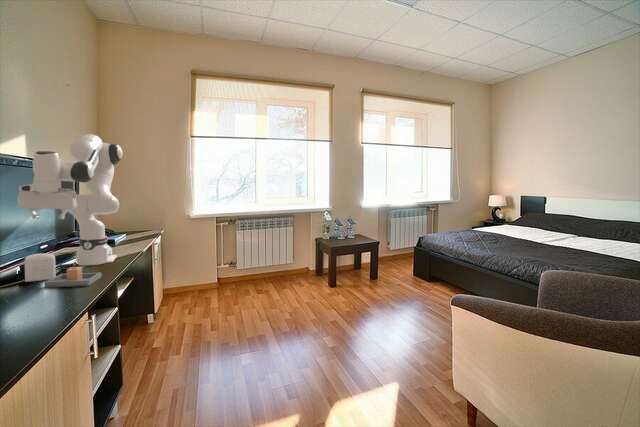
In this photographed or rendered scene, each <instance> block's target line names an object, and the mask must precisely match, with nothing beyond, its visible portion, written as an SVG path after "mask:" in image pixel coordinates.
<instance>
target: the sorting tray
mask: <svg viewBox="0 0 640 427" xmlns="http://www.w3.org/2000/svg"><path fill="white" fill-rule="evenodd" d="M101 278H102V272H82V280H70V281H67V273H60V274H59V275H56V277H54V278H52V279H50V280H45V281H44V288H45V289H47V288H48V289H49V288H51V289H52V288H69V287H70V288H72V287H73V288H74V287H89V286H91V285H92V284H95V283H96V282H97V281H99V280H100V279H101Z"/></svg>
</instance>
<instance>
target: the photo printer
mask: <svg viewBox="0 0 640 427" xmlns="http://www.w3.org/2000/svg"><path fill="white" fill-rule="evenodd" d="M56 276H57V275H56V257H55V254H52V253H33V254H30V255H27V256H25V259H24V282H26V283H27V282H28V283H29V282H36V281H37V282H38V281H48V280H50V279H52V278H54V277H56Z"/></svg>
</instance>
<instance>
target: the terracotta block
mask: <svg viewBox="0 0 640 427" xmlns="http://www.w3.org/2000/svg"><path fill="white" fill-rule="evenodd" d="M82 273H83V267H82V266H73V267H69V268H67V269H66V274H67V281H70V280H82Z"/></svg>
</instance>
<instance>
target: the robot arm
mask: <svg viewBox="0 0 640 427" xmlns="http://www.w3.org/2000/svg"><path fill="white" fill-rule="evenodd" d="M69 152H70V155H71V156H72V157H74V159H76V161H75V160H73V161H72V160H63V159H61V158H60V156H59V154H58V152H56V151H50V150H39V151H36V152H34V154H33V159H32V171H33V175H34V176H33V182H32V183H29V184H24V185H20V186H19V187H18V191H19V192H18V194H17V199H16V200H17V201H16V202H17V207H18V208H20V209H28V211H29V213H30V214H31V216H32V219H33V220H34V219H35V220H36V219H38V220H39V219H40V214H39V213H37V212H36V211H37V209H44V210H46V209H47V210H51V209H52V210H54V209H55V210H60V212H61V213H60V214H58V217H57V218H58V219H59V220H64V219H65V217H66V216H65V215H66V214H67V213H69V214H70V215H72V216H73V217H74V219H75V220H76V221H77V224H78V228H79V239H78V240H79V241H78V244H79V247H78V248H76V256H75V261H77V263H78V266H97V265H98V266H99V265H101V264H102V265H103V264H109V263H113V262H114V261H115V260H116V258H118V255H117V254H113V248H112V246H110V245H108V240H109V237H108V236H106V225H105V224H104V223H103V221H100V220H99V219H96V218H95V216H94V215H110V214H115V213H117V211H118V210H119V208H120V202H119V200H118V198H117V197H116V196H114V195H113V194H112V192H111V188H112V182H113V179H114V176H115V175H114V174H115V165H118V163H120V161H121V160H122V159H123V155H124V152H123V149H122V147H121V146H120V145H118V144H116V143H109V142H108V143H106V142H103V140H102V139H101V138H100V137H99V136H98V135H96V134H92V133H88V134H84V135H82V136H80V137H78V138H77V139H75V140H74V141H72V143H70V146H69ZM77 160H78V161H77ZM62 182H77V183H84V184H86V188H87V189H88V190H89V191H90V192H92V194H80V193H77V192H76V190H74V189H72V188H65V187H64V188H62Z"/></svg>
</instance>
